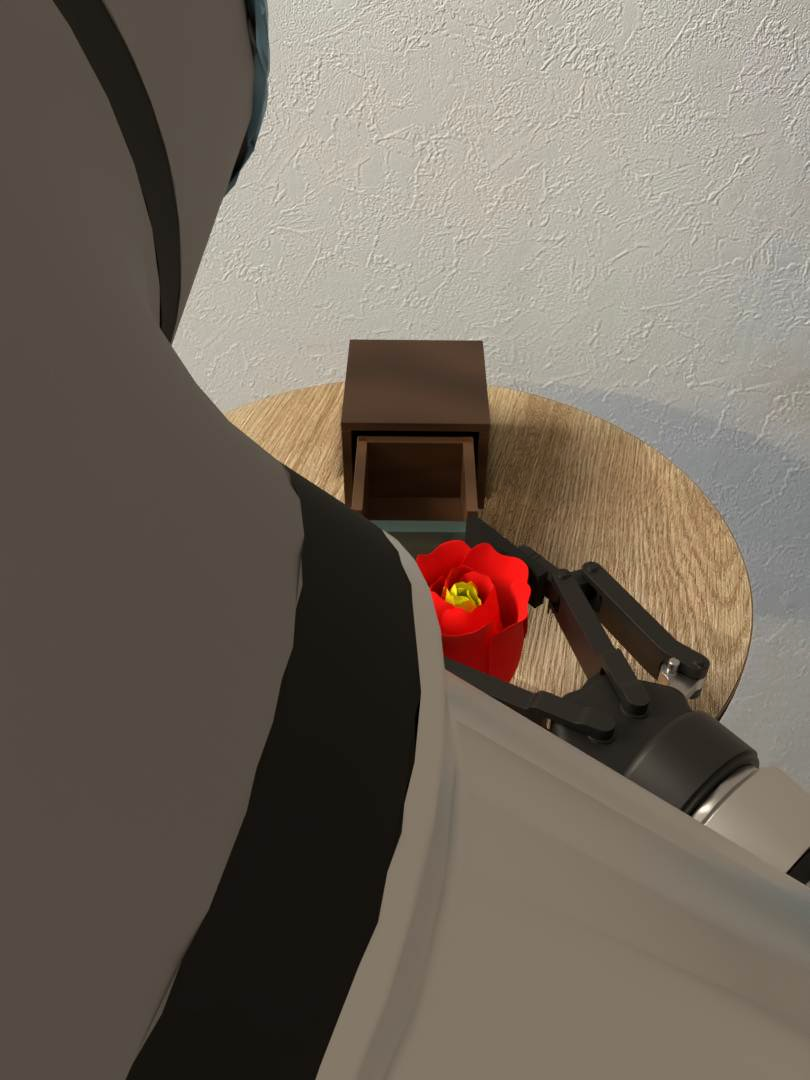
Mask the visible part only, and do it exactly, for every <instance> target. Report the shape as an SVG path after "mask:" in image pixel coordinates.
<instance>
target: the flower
mask: <svg viewBox="0 0 810 1080" xmlns="http://www.w3.org/2000/svg"><path fill="white" fill-rule="evenodd" d="M417 565H418V567H419V569H420V571H421V573H422V575H423V577H424V579H425V581H426V583H427V585H428V587H429V588H430V592H431V596H432V600H433V603H434V607H435V611H436V615H437V618H438V622H439V626H440V630H441V638H442V648H443V656H444V657H447V658H449V659H452V660H454V661H457V662H459V663H462V664H464V665H466V666H469V667H471V668H474V669H476V670H479V671H481V672H484V673H486V674H489V675H491V676H493V677H496V678H498V679H501V680H503V681H506V682H508V683H511V682H512V680H513V678H514V675H515V673H516V672H517V669H518V667H519V664H520V662H521V658H522V655H523V650H524V642H525V639H526V636H527V633H528V629H529V607H528V606H529V604H528V601H529V598H530V594H531V588H530V586H529V585H528V584H527V581H528V575H529V570H528V567H527V565H526V564H525V563H524V562H523V561H522V560H520V559H518V558H516V557H510V556H505V555H501V554H499V553H498V552H497V551H495V549H494V548H493V547H492V546H491V545H490V544H488V543H481V544H479V545H476V546H475V547H474V548H472V549H470V547H469V546H468V545H467V544H466V543H465V542H463V541H461V540H453V541H448V542H445V543H443V544H441V545H439V546H438V547H437V548H436V549H435V550H434V551H433V552H432V553H430V554H427V555H422V554H418V556H417Z"/></svg>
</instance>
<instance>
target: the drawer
mask: <svg viewBox="0 0 810 1080" xmlns="http://www.w3.org/2000/svg"><path fill="white" fill-rule="evenodd" d="M351 508H352V509H353V510H355V511H356V512H358V513H359V514H361V515H362V516H364V517H365V518H367V519H368V520H370V521H371V522H373V523H374V524H375V525H377V526H378V527H380V528H381V529H382V530H384V531H385V532H387V533H388V534H390V535H391V536H392V537H394V538H395V539H397V540H398V541H399V542H400V544H401V545H402V546H403V547H404V548H405V549H406V550H407V552H408V553H409V554H410V555H411V556H412V557H413V558H414V560H415V561H416V563H417V556H418V554H422V555H427V554H430V553H432V552H433V551H434V550H435V549H436V548H437V547H438V546H439V545H441V544H443V543H445V542H448V541H453V540H461V541H463V542H465V532H466V519H468V518H470V517H472V516H474V515H476V516H478V517H479V509H478V503H477V488H476V473H475V458H474V443H473V437H399V436H358V439H357V450H356V462H355V474H354V486H353V497H352V507H351ZM483 521H484V520H483ZM484 522H485V523H487V524H488V525H489V526H490V521H488V520H486V521H484Z"/></svg>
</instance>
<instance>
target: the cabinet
mask: <svg viewBox="0 0 810 1080" xmlns="http://www.w3.org/2000/svg"><path fill="white" fill-rule="evenodd" d="M486 372H487V371H486V360H485V350H484V341H483V340H476V339H475V340H474V339H473V340H469V339H468V340H465V339H464V340H463V339H462V340H461V339H460V340H459V339H455V340H454V339H354V338H353V339H349V343H348V352H347V360H346V371H345V377H344V378H345V379H344V387H343V398H342V406H341V416H340V436H341V437H340V438H341V454H342V455H341V457H342V476H343V496H344V504H345V505H347V506H348V507H350V508H352V497H353V486H354V474H355V462H356V450H357V439H358V436H399V437H473V443H474V458H475V473H476V488H477V503H478V510H484V509H485V504H486V503H485V501H486V490H487V476H488V464H489V463H488V462H489V449H490V437H491V435H490V434H491V413H490V404H489V394H488V393H489V392H488V383H487V381H488V379H487V373H486Z"/></svg>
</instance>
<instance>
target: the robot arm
mask: <svg viewBox="0 0 810 1080" xmlns="http://www.w3.org/2000/svg"><path fill="white" fill-rule="evenodd" d="M270 72H271V49H270V37H269V3H268V0H0V1080H810V791H808V790H807V789H806V788H805V787H804V786H802V785H801V784H799V783H798V782H797V780H795V779H794V778H793V777H791V776H789V774H788V773H786V772H785V771H783V770H782V769H781V768H780V767H779V766H776V765H765V766H761V767H760V759H759V757H758V752H757V751H756V750H755V749H754V748H753V747H752V746H751V745H749V744H748V743H746V741H744V740H743V739H742V738H740V737H739V736H737V734H735V733H734V732H733V731H732V730H730V729H729V728H727V727H726V726H725V725H724V724H722V723H721V722H720V721H719V720H717V719H716V718H715V717H714V716H713V715H711V714H710V713H708V712H707V711H703V710H694V709H693V708H692V707H691V705H690V703H689V700H695V699H698V698H699V697H700V696H701V694H702V691H703V687H704V685H705V682H706V679H707V676H708V673H709V669H710V667H711V661H710V660H709V658H708V657H706V656H705V655H704V654H702V653H700V652H698V651H696V650H695V649H693V648H691V647H690V646H688V645H686V644H684V643H682V642H680V641H678V640H677V639H676V638H675V637H674V636H673V635H672V634H671V633H670V632H669V631H668V630H667V629H666V628H665V627H664V626H663V625H662V624H661V623H660V622H659V621H658V620H657V619H656V618H655V617H653V615H652V614H651V613H650V612H648V610H647V609H646V608H645V607H644V606H643V605H641V603H640V602H638V600H637V599H636V598H635V597H634V596H632V594H630V593H629V592H628V591H627V590H626V589H625V588H624V586H622V585H621V584H620V583H619V582H618V581H617V580H616V579H615V578H614V577H613V575H611V573H610V572H608V571H607V570H606V569H605V568H604V567H603V566H602V565H601V564H600V563H598V562H596V561H586V562H584V563H583V564H582V566H581V568H580V569H576V570H569V569H567V568H560V567H559V568H558V567H557V565H555V564H553V563H552V562H551V561H549V560H548V559H547V558H546V557H544V556H543V555H541V554H540V553H539V552H537V551H536V550H535V549H533V548H532V547H530V546H528V545H526V544H520V545H519V546H517V545H516V544H514V543H513V542H512V541H510V540H509V539H508V538H506V537H505V536H504V535H502V534H501V533H499V531H498V530H496V529H495V528H493V527H492V526H491V525H490V524H489V525H488V524H487V523H485V522H484V520H483V519H482V518H481V517H479V515H478V516H476V515H474V516H472V517H470V518H468V519H466V532H465V543H466V544H467V545H468V546H469V547H470V549H472V548H474V547H475V546H476V545H479V544H481V543H488V544H490V545H491V546H492V547H493V548H494V549H495V551H497V552H498V553H499V554H501V555H505V556H510V557H516V558H518V559H520V560H522V561H523V562H524V563H525V564H526V565H527V567H528V570H529V575H528V581H527V584H528V585H529V586H530V588H531V594H530V598H529V601H528V606H530V607H532V608H533V609H535V610H536V609H537V608H538V607H540V606H541V605H543V604H544V603H545V598H546V599H548V600H547V601H548V602H547V609H546V613H547V615H550V613H551V614H552V615H553V617H554V618H555V621H556V622H557V624H558V626H559V628H560V629H561V632H562V634H563V635H564V637H565V639H566V641H567V643H568V645H569V647H570V649H571V651H572V652H573V654H574V656H575V658H576V660H577V662H578V664H579V666H580V668H581V670H582V672H583V673H584V675H585V677H586V679H587V680H586V681H585V683H584V684H583V685H582V686H581V687H580V688H578V689H576V690H573V691H570V692H567V693H565V694H563V696H560V695H559V696H558V695H556V694H553V693H551V692H549V691H545V690H539V691H537V692H533V691H530V690H527V689H525V688H523V687H520V686H518V685H516V684H513V683H511V682H510V683H508V682H506V681H503V680H501V679H498V678H496V677H493V676H491V675H489V674H486V673H484V672H481V671H479V670H476V669H474V668H471V667H469V666H466V665H464V664H462V663H459V662H457V661H454V660H452V659H449V658H447V657H444V656H443V648H442V638H441V630H440V626H439V622H438V618H437V615H436V611H435V607H434V603H433V600H432V596H431V592H430V588H429V587H428V585H427V583H426V581H425V579H424V577H423V575H422V573H421V571H420V569H419V567H418V565H417V563H416V561H415V560H414V558H413V557H412V556H411V555H410V554H409V553H408V552H407V550H406V549H405V548H404V547H403V546H402V545H401V544H400V542H399V541H398V540H397V539H395V538H394V537H392V536H391V535H390V534H388V533H387V532H385V531H384V530H382V529H381V528H380V527H378V526H377V525H375V524H374V523H373V522H371V521H370V520H368V519H367V518H365V517H364V516H362V515H361V514H359V513H358V512H356V511H355V510H353V509H352V507H348V506H347V505H345V502H342V501H341V500H340V499H338V498H336V497H335V496H333V495H332V494H330V493H329V492H327V491H325V490H324V489H323V488H321V487H319V486H318V485H317V484H315V483H314V482H312V481H310V480H309V479H308V478H306V477H304V476H302V475H301V474H300V473H298V472H297V471H295V470H293V468H291V467H289V466H287V465H286V464H284V463H283V462H281V461H280V460H278V459H277V458H276V457H274V456H273V455H272V454H270V453H269V451H267V450H266V449H265V448H263V446H261V445H259V444H258V443H257V442H256V441H255V440H254V439H252V438H251V437H250V436H249V435H247V434H246V433H245V432H243V431H242V430H241V429H240V428H239V427H238V426H237V425H235V424H234V423H233V422H231V421H230V420H229V419H228V417H226V415H224V413H223V412H222V411H221V409H220V408H218V406H217V405H216V404H215V403H214V402H213V400H212V399H211V398H210V397H209V396H208V394H206V392H205V391H204V390H203V389H202V388H201V387H200V385H199V384H198V383H197V381H196V380H195V379H194V378H193V376H192V374H191V373H190V371H189V370H188V369H187V367H186V365H185V364H184V362H183V360H182V359H181V358H180V356H179V354H178V353H177V352H176V350H175V349H174V347H173V343H174V340H175V337H176V334H177V331H178V328H179V326H180V323H181V321H182V317H183V315H184V311H185V309H186V305H187V303H188V300H189V297H190V294H191V292H192V288H193V285H194V283H195V280H196V277H197V274H198V272H199V268H200V265H201V263H202V260H203V257H204V253H205V251H206V248H207V246H208V242H209V240H210V237H211V234H212V231H213V228H214V225H215V222H216V220H217V218H218V217H217V216H218V214H219V210H220V208H221V206H222V203H223V200H224V198H225V197H226V196H227V195H228V194H229V193H230V192H231V190H232V189H234V187H235V186H236V184H237V182H238V179H239V176H240V173H241V171H242V169H243V168H244V167H245V166H246V164H247V162H248V161H249V159H250V158H251V156H252V155H253V153H254V152H255V151H256V150H255V148H256V145H257V141H258V138H259V135H260V132H261V128H262V126H263V125H262V124H263V122H264V119H265V115H266V112H267V108H268V99H269V81H268V80H269V77H270ZM605 629H606V630H605ZM606 631H607V632H609V633H610V635H611V636H612V637H613V639H615V640H616V641H617V643H619V644H620V645H621V646H622V648H623V649H624V650H626V652H627V653H628V654H629V655H630V656H631V657H632V658H633V659H634V660H635V661H636V662H637V663H638V664H639V666H641V667H642V669H643V670H644V671H645V672H647V674H649V676H650V677H652V678H653V679H654V680H656V681H657V683H656V682H654V681H648V680H642V679H639V678H638V677H637V675H636V674H635V672H634V670H633V668H632V666H631V665H630V663H629V662H628V660H627V657H626V656H625V654H624V653H623V651H622V650H621V648H619V647H617V648H616V647H615V646H614V644H613V642H612V640H611V639H610V637H609V635H608V633H607V632H606ZM548 720H550V723H549V728H548V726H547V722H548Z"/></svg>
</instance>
